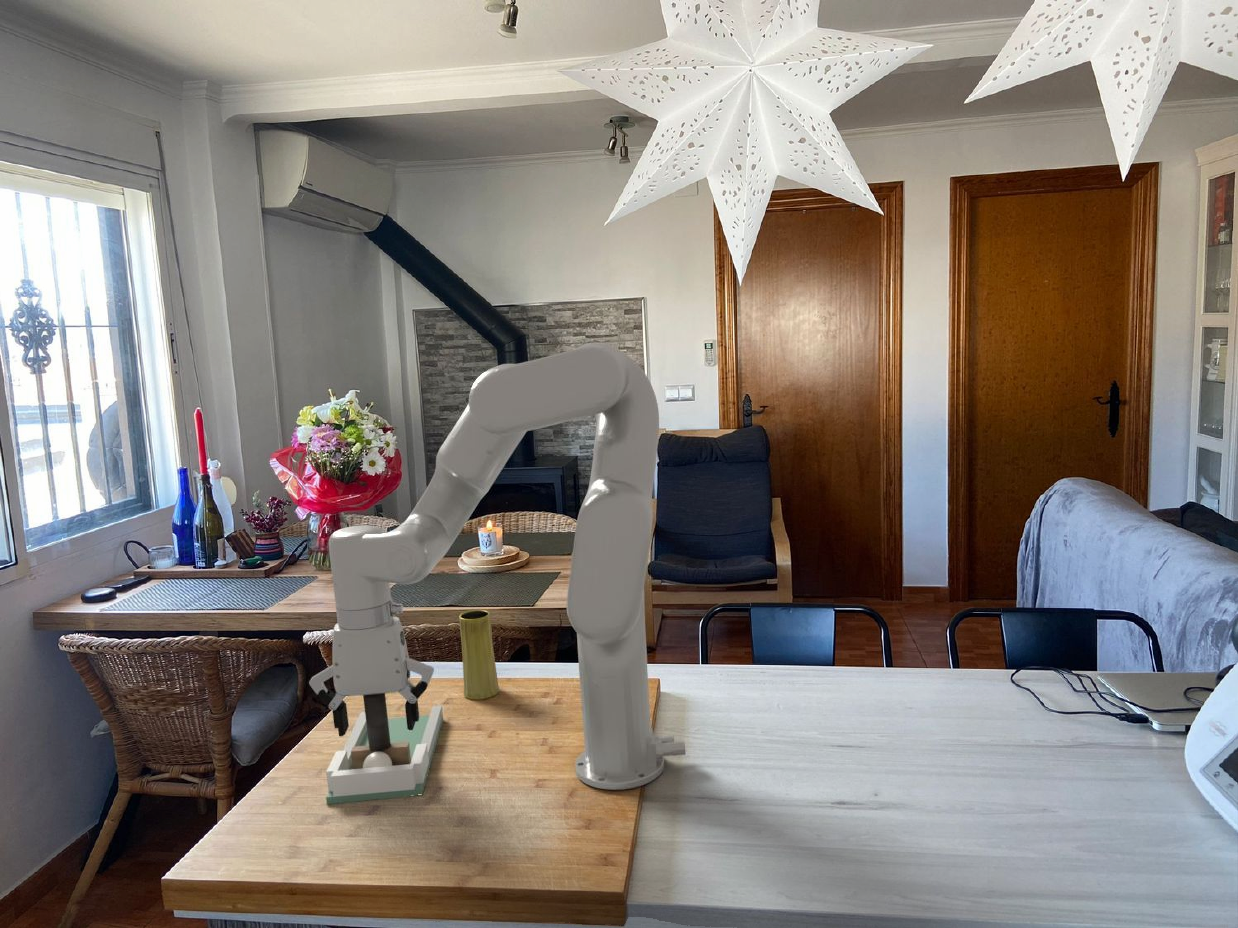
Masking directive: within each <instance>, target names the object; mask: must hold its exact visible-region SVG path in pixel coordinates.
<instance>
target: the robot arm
mask: <svg viewBox="0 0 1238 928" xmlns="http://www.w3.org/2000/svg"><path fill="white" fill-rule="evenodd" d="M658 405H659V404H658V400H657V397H656V393H655V390H654V387H653V385H652V383H651V381H650V379H649V378H648V376H647V374H646V373H645V372H644V370H643V369H642V367H640V366H639V365H638V363H636V361H634V360H633V359H632V358H631V357H630V356H629V355H627V353H625V352H623V351H622V350H620V349H619V348H617V347H615V346H613V345H611V344H608V343H603V342H589V343H585V344H583V345H581V346H579V347H577V348H575V349H570V350H568V351H563V352H560V353H556V354H552V355H548V356H543V357H540V358H535V359H532V360H529V361H523V362H520V363H502V364H499V365H497V366H494V367H492V368H489V369H488V370H485V371H484V372H482V373H481V374H480V375H479V376H478V377H477V378H476V379H475V381H474V382H473V384H472V386H471V388H470V392H469V395H468V404H467V405H466V407H465V409H464V411H463V412H462V413H461V416H459V418H458V420H457V421H456V423H455V424H454V426H453V428H452V430H451V431H450V432H449V434H448V435H447V437H446V439H445V440H444V442H443V443H442V444H441V446H440V448H439V450H438V452H437V454H436V458H435V469H434V470H435V471H434V473H433V476H432V477H431V480H430V482H429V484H428V485H427V487H426V489H425V490H424V492H423V494H422V495H421V496H420V498H419V501H418V502H417V503H416V505H415V506H414V508H413V509H412V511H411V513H410V514H409V516H408V517H407V518H406V520H405V521H403V522H402V523H401V524H400V525H399V526H397V527H396V528H394V529H393V530H391V531H388V532H383V531H382V529H380V528H379V527H377V526H374V525H369V524H368V525H366V524H365V525H364V524H363V525H352V526H348V527H343V528H340V529H337V530H336V531H334V532H333V533H332V534H330V536H329V538H328V550H329V552H328V553H329V559H330V560H329V561H330V569H331V577H332V578H331V579H332V586H333V594H334V595H333V596H334V604H335V611H336V618H337V620H336V621H337V623H336V624H334V627H333V634H332V647H331V649H332V653H331V654H332V660H331V661H332V665H330V666H328V667H326V668H324V670H322V671H320V672H318V673H317V674H314V675H313V676H312V677H311V679H310V680H309V681H308V684H309V686H310V687H311V688H312V690H313V691H314V693H315V694H316V695H317V697H318V699H319V700H321V702H323V703H324V704H326V705H327V706H328V709H329V710H331V712H332V717H333V727H334V730H335V729H337V731H338V737H344V736H345V735H346V733H347V731H348V729H349V716H348V708H347V702H346V701H345V700H344V699H345V698H346V697H359V696H363V695H373V694H384V693H385V694H393V693H399V694H400V696H401V697H403V698H404V699H405V700H406V702H405V705H404V708H405V717H406V720H407V729H409V730H413V728H414V725H415V722H417V721H419V716H420V713H419V712H420V711H419V703H418V702H419V701H418V700H419V698H421V696H422V695H423V694H424V693H425V691H426V690H427V688H428V686H429V685H430V681H431V679H432V677H433V675H434V672H435V669H434V667H433V666H431V665H429V664H426V663H424V662H421V661H419V660H416V659H413V658H411V657H410V656H409V652H408V645H407V641H406V638H405V632H404V629H403V626H402V623H401V620H400V617H397V616H396V615H398V614H403V611H404V606H403V603H397V602H395V601H394V600H393V597H392V596H391V595H392V594H391V585H390V584H397V585H398V584H399V585H411V584H415V583H418V582H421V581H422V580H424V579H425V578H427V576H428V575H429V574H430V573H431V572H432V571H433V569H434V568H435V567H436V565H438V564H439V563H440V561H441V560H442V559H443V558H444V557H445V555H446V554H447V553H448V552H449V550H450V548H451V546H452V545H453V544H454V542H455V541H456V539H457V537H458V536H459V535H460V533H461V531H462V530H463V529H464V527H465V525H466V523H467V522H468V520H469V519H470V517H471V516H472V514H473V512H474V511H475V509H476V507H477V506H478V505H479V503H480V501H481V500H482V499H483V498H484V497H485V496H486V494H487V493H489V490H490V489H491V488H492V486H493V485H494V483H495V482H496V479H497V478H498V476H499V475H500V473H501V471H502V470H503V468H504V467H505V465H506V463H507V462H508V461H509V459H510V458H511V456H512V455H513V453H514V451H515V450H516V448H517V447H518V445H519V444H520V442H521V441H522V439H523V438H524V437H525V435H526V433H527V432H528V431H529V432H530V431H534V430H539V429H543V428H547V427H551V426H555V425H559V424H563V423H567V422H573V421H575V420H576V421H577V420H579V419H584V418H588V417H592V416H595V418H596V427H595V435H594V436H595V437H594V444H593V455H592V464H591V471H590V479H589V484H588V488H587V493H586V495H585V497H584V499H583V501H582V504H581V507H580V509H579V512H578V515H577V520H576V526H575V534H574V541H573V547H572V555H571V565H570V572H569V580H568V581H569V582H568V587H567V588H568V589H567V595H566V596H567V597H566V614H567V617H568V621H569V622H570V625H571V627H572V628H573V630H574V631H575V632H576V638H577V654H578V656H577V658H578V673H579V686H580V687H579V690H580V700H581V701H580V703H581V715H582V716H581V717H582V725H583V726H582V728H583V729H582V730H583V739H584V740H583V741H584V744H583V745H584V751H582V753H580V754H579V755H578V757H577V758H576V759H575V763H574V766H575V769H574V770H575V774H576V777H578V779H579V780H581V782H583V783H584V784H586V785H588V786H590V787H593V788H597V789H601V790H602V789H603V790H609V791H610V790H611V791H617V790H618V791H619V790H627V789H634V788H638V787H641V786H644V785H646V784H649V783H650V782H652V781H654V780H656V779H657V778H658V777H659V776H660V775H661V773H663V771H664V768H665V759H664V758H665V757H667V756H668V757H669V756H672V757H673V756H674V757H676V756H677V757H678V756H685V755H686V744H685V741H684V740H679V741H678V740H676V741H675V736H674V735H666V736H659V737H658V735H657V734H656V735H654V730H653V727H652V726H651V725H652V724H651V708H650V692H649V678H648V677H649V675H648V654H647V653H648V652H647V635H646V633H647V632H646V615H645V581H646V576H647V569H648V568H647V567H648V561H649V554H650V548H651V547H650V546H651V540H652V530H653V519H654V518H653V517H654V515H653V511H654V510H653V489H654V480H655V475H656V467H657V457H658V456H657V455H658V454H657V453H658V447H659V445H658V444H659V435H660V411H659V406H658ZM411 672H412V673H415V674H418V675H420V676H421V677H420V681H419V682H418V683H417V684H414V683H412V682H411V681H410V677H411ZM330 678H332V680H333V686H334V687H333V688H334V691H335V692H333V691H332V690H331V689H329V688H328V687H326V685H325V683H324V682H326V681H327V680H329V679H330Z"/></svg>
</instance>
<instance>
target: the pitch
mask: <svg viewBox="0 0 1238 928" xmlns="http://www.w3.org/2000/svg"><path fill="white" fill-rule="evenodd" d="M443 721H444V713H443V705H442V704H441V705H440V704H439V705H432V706H431V711H430V713H429V714H426V715H425V714H424V715H419V721H417V722H415V725H414V728H413V730H409V729H407V720H406V716H403V717H393V718H392V717H391V718H388V725H389V734H390V743H401V742H409V747H410V756H411V763H410V764H407V765H396V766H385V767H373V768H362V769H353V767H352V758H351V750H352V748H353V747H355V746H367V745H369V742H368V733H367V724H366V716H365V711H362V712H360V713H359V716H358V717H357V719H356V722H355V724H354V726H353V728H352V730H351V731H350V734H349V736H348V739H347V740H346V743H345V744H344V746H343V750H338V751H337V750H336V752H335V753H334V755H333V757H332V759H331V761H330V763H329V765H328V767H327V769H326V771H325V772H326V781H327V789H328V792H327V794H326V796H325V800H326V801H325V802H326V805H331V804H333V805H334V804H342V803H344V804H345V803H354V802H355V803H356V802H365V801H366V800H367V801H375V800H374V799H378V800H388V798H389V799H398V798H397V797H400V798H405V797H404V796H411V795H418V794H424V792H423V790H424V791H425V788H424V786H425V787H426V784H427V781H426V779H427V780H428V777H427V775H429V773H428V771H429V772H430V770H429V768H430V769H431V766H430V764H431V765H432V762H433V759H432V757H433V758H434V755H433V754H434V753H435V752H436V748H435V747H437V744H436V743H438V741H437V740H439V737H440V733H441V730H440V729H441V728H442V726H443V723H444V722H443ZM431 761H432V762H431ZM425 783H426V784H425ZM393 797H395V798H393ZM411 797H412V796H411ZM372 799H373V800H372ZM367 801H366V802H367Z"/></svg>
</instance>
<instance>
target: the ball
mask: <svg viewBox="0 0 1238 928" xmlns="http://www.w3.org/2000/svg"><path fill="white" fill-rule="evenodd" d="M385 766H392V761H391V759H390V757H389V756H388V755H387V754H386V753H384V752H373V753H371V754H370V755H368V756H367V758H366V759H365V761H364V763H363V768H373V767H385Z"/></svg>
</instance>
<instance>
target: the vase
mask: <svg viewBox="0 0 1238 928" xmlns="http://www.w3.org/2000/svg"><path fill="white" fill-rule="evenodd" d="M458 620H459V631H460V632H459V633H460V639H461V640H460V641H461V654H462V674H463V676H462V677H463V678H462V679H463V696H464V697H465V698H466V699H467V700H468V699H469V700H472V701H473V700H474V701H481V700H486V699H490V698H493V697H494V696H496V695H498V693H499V691H500V687H499V681H498V675H497V674H498V673H497V668H496V667H497V666H496V660H495V659H496V658H495V653H494V644H493V632H492V631H493V630H492V620H491V612H490V611H488V610H486V609H472V610H467V611H464V612H462V613H460V614H459V616H458Z"/></svg>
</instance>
